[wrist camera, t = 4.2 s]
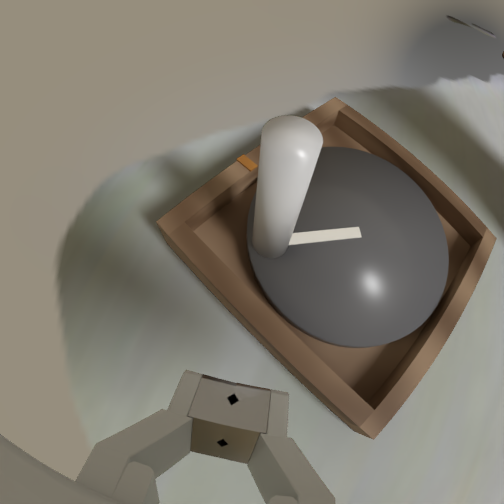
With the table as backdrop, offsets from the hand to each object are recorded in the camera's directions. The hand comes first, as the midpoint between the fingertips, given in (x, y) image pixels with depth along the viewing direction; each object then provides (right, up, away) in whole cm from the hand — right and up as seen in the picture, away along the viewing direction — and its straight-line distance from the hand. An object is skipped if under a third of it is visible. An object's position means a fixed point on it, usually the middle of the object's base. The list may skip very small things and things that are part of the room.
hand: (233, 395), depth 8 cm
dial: (+8, +5, +14) cm, 17 cm away
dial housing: (+8, +4, +15) cm, 18 cm away
